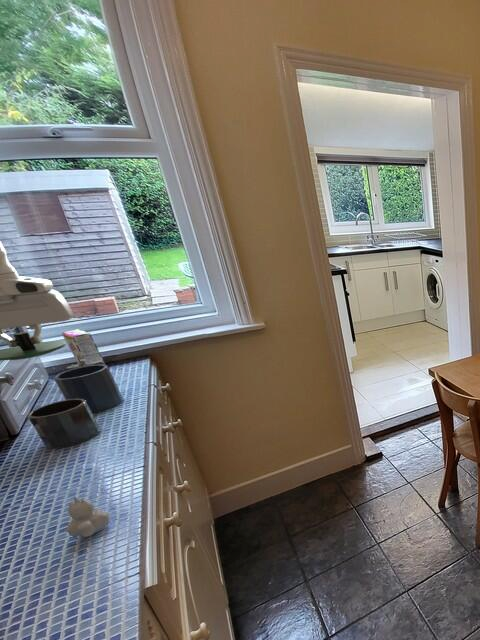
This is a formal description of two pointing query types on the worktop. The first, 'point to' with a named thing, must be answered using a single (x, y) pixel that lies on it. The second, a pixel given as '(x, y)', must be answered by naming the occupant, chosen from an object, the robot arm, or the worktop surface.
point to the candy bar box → (82, 346)
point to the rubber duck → (85, 518)
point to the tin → (90, 387)
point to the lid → (29, 348)
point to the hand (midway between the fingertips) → (26, 344)
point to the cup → (64, 423)
